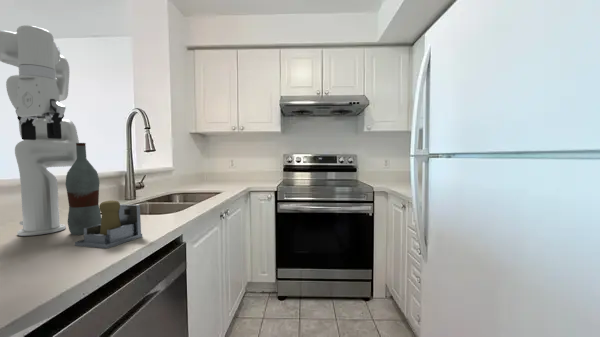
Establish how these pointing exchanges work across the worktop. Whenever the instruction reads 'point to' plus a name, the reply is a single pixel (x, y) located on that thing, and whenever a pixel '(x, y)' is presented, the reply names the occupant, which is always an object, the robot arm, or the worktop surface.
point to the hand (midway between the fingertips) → (41, 139)
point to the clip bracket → (115, 230)
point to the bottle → (82, 193)
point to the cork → (109, 216)
